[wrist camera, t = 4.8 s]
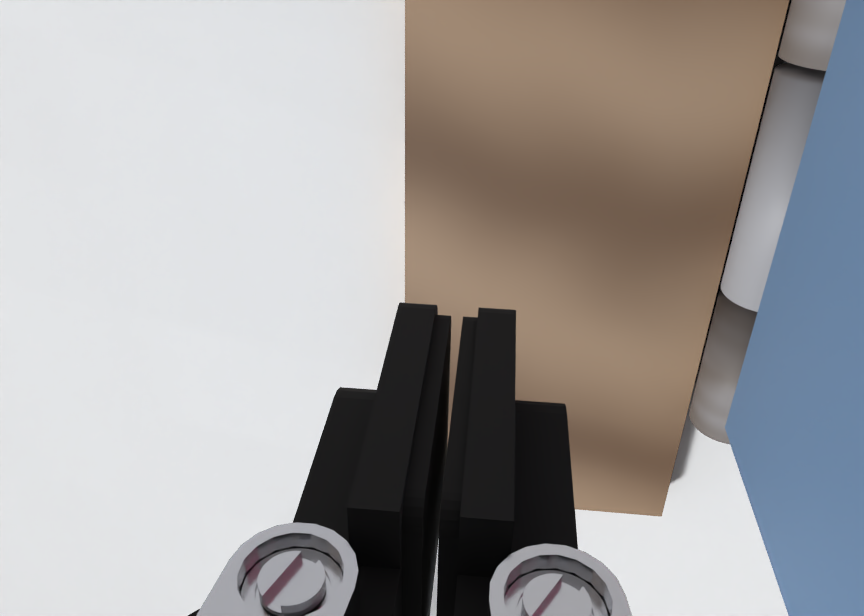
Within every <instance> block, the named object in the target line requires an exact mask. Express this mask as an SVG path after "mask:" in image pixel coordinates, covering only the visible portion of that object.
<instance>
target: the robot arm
mask: <svg viewBox="0 0 864 616" xmlns="http://www.w3.org/2000/svg"><path fill="white" fill-rule="evenodd" d="M450 351H451V316H448V315H438V307H437V305H431V304H416V303H399V306H398V310H397V313H396V317H395V321H394V325H393V329H392V333H391V337H390V341H389V345H388V349H387V352H386V356H385V360H384V364H383V368H382V372H381V376H380V380H379V384H378V388H377V390H369V389H355V388H341V387H340V388H339V389H338V390H337V392H336V394H335V396H334V399H333V402H332V405H331V408H330V411H329V414H328V417H327V421H326V424H325V427H324V430H323V433H322V436H321V439H320V442H319V445H318V448H317V451H316V454H315V457H314V460H313V463H312V466H311V469H310V472H309V475H308V478H307V481H306V484H305V488H304V491H303V494H302V497H301V500H300V503H299V506H298V509H297V512H296V515H295V518H294V521H293V523H289V524H283V525H277V526H274V527H272V528H269V529H267V530H264V531H262V532H259V533H257V534H256V535H254V536H253V537H252V538H250V539H249V540H247V541H246V542H245V543H243V544H242V545H241V546H240V547H239V548H238V550H237V551H236V552H235V553H234V555H233V556H232V557H231V558H230V560H229V561H228V563H227V564H226V566H225V568H224V570H223V571H222V573H221V575H220V576H219V578H218V580H217V581H216V583H215V585H214V586H213V588H212V590H211V592H210V593H209V595H208V597H207V598H206V600H205V602H204V603H203V605H202V607H201V608H200V609H199V610H197V611H195V612H193V613H192V614H190V615H188V616H430V607H431V599H432V590H433V581H434V573H435V564H436V556H437V547H438V538H439V550H438V586H437V616H632V614H631V611H630V608H629V604H628V601H627V598H626V595H625V593H624V591H623V589H622V587H621V585H620V583H619V581H618V579H617V578H616V576H615V575H614V574H613V573H612V572H611V571H610V570H609V569H608V568H607V567H606V566H605V565H604V564H603V563H602V562H600V561H599V560H597V559H596V558H594V557H592V556H591V555H589V554H588V553H586V552H584V551H581V550H578V545H577V533H576V520H575V507H574V495H573V482H572V469H571V457H570V444H569V431H568V419H567V409H566V405H565V404H564V403H550V402H536V401H522V400H515V377H516V310H511V309H495V308H478V317H464V316H463V320H462V329H461V337H460V346H459V354H458V362H457V371H456V379H455V388H454V396H453V405H452V413H451V421H450V430H449V438H448V413H449V382H450ZM447 443H448V447H447Z"/></svg>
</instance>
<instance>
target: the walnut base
mask: <svg viewBox="0 0 864 616" xmlns="http://www.w3.org/2000/svg"><path fill="white" fill-rule="evenodd" d="M845 3H846V0H792V1H791V5H790V9H789V13H788V17H787V21H786V25H785V29H784V33H783V37H782V41H781V45H780V49H779V53H778V56H779V57H780V58H781V59H782V60H784V61H786V62H789V63H791V64H794V65H798V66H802V67H806V68H811V69H816V70H823V71H826V70H827V66H828V63H829V59H830V56H831V52H832V49H833V45H834V42H835V38H836V35H837V31H838V28H839V24H840V21H841V17H842V14H843V10H844V7H845ZM788 4H789V0H405V303H416V304H431V305H437V307H438V315H448V316H451V351H450V382H449V413H448V438H449V430H450V421H451V413H452V405H453V396H454V388H455V379H456V371H457V362H458V354H459V346H460V337H461V329H462V320H463V316H464V317H478V308H495V309H511V310H516V377H515V400H522V401H536V402H550V403H564V404H565V405H566V409H567V419H568V431H569V444H570V457H571V469H572V482H573V495H574V507H575V509H580V510H592V511H604V512H615V513H627V514H639V515H651V516H662V512H663V508H664V504H665V500H666V496H667V492H668V488H669V484H670V480H671V476H672V472H673V468H674V464H675V460H676V456H677V452H678V448H679V444H680V440H681V436H682V432H683V428H684V424H685V420H686V416H687V412H688V408H689V403H690V399H691V395H692V391H693V387H694V383H695V379H696V375H697V371H698V367H699V363H700V359H701V355H702V351H703V347H704V343H705V339H706V335H707V331H708V327H709V323H710V319H711V315H712V311H713V307H714V303H715V299H716V294H717V290H718V286H719V282H720V278H721V274H722V270H723V266H724V262H725V258H726V254H727V250H728V246H729V242H730V238H731V234H732V230H733V226H734V222H735V218H736V214H737V210H738V206H739V202H740V198H741V194H742V189H743V185H744V181H745V177H746V173H747V169H748V165H749V161H750V157H751V153H752V149H753V145H754V141H755V137H756V133H757V129H758V125H759V121H760V117H761V113H762V109H763V105H764V101H765V97H766V93H767V89H768V85H769V80H770V76H771V72H772V68H773V64H774V60H775V56H776V52H777V48H778V44H779V40H780V36H781V32H782V28H783V24H784V20H785V16H786V12H787V8H788ZM757 313H758V312H755V311H752V310H749V309H746V308H744V307H741V306H739V305H737V304H735V303H734V302H732V301H731V300H729V299H728V298H727V297H726V296H725V295H724V294H723V292H722V290H721V291H720V292H719V294H718V298H717V302H716V306H715V310H714V314H713V318H712V322H711V326H710V330H709V334H708V338H707V342H706V346H705V350H704V354H703V358H702V362H701V366H700V370H699V374H698V378H697V382H696V387H695V391H694V395H693V399H692V403H691V407H690V411H689V417H690V420H691V422H692V424H693V425H694V426H695V427H696V428H697V429H698V430H699V431H700V432H701V433H703V434H704V435H706V436H708V437H709V438H712V439H714V440H716V441H719V442H722V443H726V444H730V441H729V438H728V436H727V433H726V430H725V425H726V422H727V418H728V415H729V411H730V408H731V404H732V401H733V397H734V394H735V390H736V386H737V383H738V379H739V376H740V372H741V369H742V365H743V362H744V358H745V355H746V351H747V348H748V344H749V341H750V337H751V334H752V330H753V327H754V323H755V320H756V316H757ZM447 447H448V443H447Z"/></svg>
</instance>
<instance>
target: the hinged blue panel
mask: <svg viewBox="0 0 864 616" xmlns="http://www.w3.org/2000/svg"><path fill="white" fill-rule="evenodd" d="M721 290H722V292H723V294H724V295H725V296H726V297H727V298H728V299H729V300H731V301H732V302H734V303H735V304H737V305H739V306H741V307H744V308H746V309H749V310H752V311H755V312H758V313H757V316H756V320H755V323H754V327H753V330H752V334H751V337H750V341H749V344H748V348H747V351H746V355H745V358H744V362H743V365H742V369H741V372H740V376H739V379H738V383H737V386H736V390H735V394H734V397H733V401H732V404H731V408H730V411H729V415H728V418H727V422H726V425H725V430H726V433H727V436H728V438H729V441H730V444H731V447H732V450H733V453H734V456H735V459H736V462H737V465H738V468H739V471H740V474H741V477H742V480H743V483H744V485H745V488H746V491H747V494H748V497H749V500H750V503H751V506H752V509H753V512H754V515H755V518H756V521H757V524H758V527H759V530H760V532H761V535H762V538H763V541H764V544H765V547H766V550H767V553H768V556H769V559H770V562H771V565H772V568H773V571H774V574H775V577H776V579H777V582H778V585H779V588H780V591H781V594H782V597H783V600H784V603H785V606H786V609H787V612H788V615H789V616H864V0H846V3H845V7H844V10H843V14H842V17H841V21H840V24H839V28H838V31H837V35H836V38H835V42H834V45H833V49H832V52H831V56H830V59H829V63H828V66H827V70H826V71H823V70H816V69H811V68H806V67H802V66H798V65H794V64H791V63H784V64H780V65H778V66H776V67H775V70H774V74H773V78H772V82H771V86H770V90H769V94H768V98H767V102H766V106H765V110H764V114H763V118H762V122H761V126H760V130H759V134H758V138H757V142H756V146H755V150H754V154H753V158H752V162H751V166H750V170H749V174H748V178H747V182H746V186H745V190H744V194H743V198H742V202H741V206H740V210H739V214H738V218H737V222H736V226H735V230H734V234H733V238H732V242H731V246H730V250H729V254H728V258H727V262H726V266H725V270H724V274H723V278H722V282H721Z"/></svg>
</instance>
